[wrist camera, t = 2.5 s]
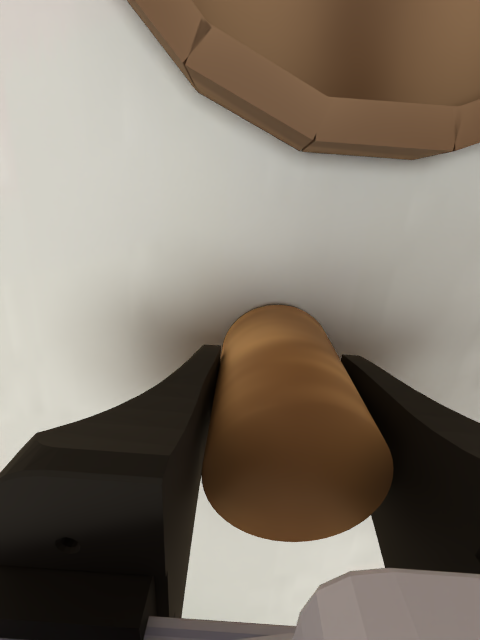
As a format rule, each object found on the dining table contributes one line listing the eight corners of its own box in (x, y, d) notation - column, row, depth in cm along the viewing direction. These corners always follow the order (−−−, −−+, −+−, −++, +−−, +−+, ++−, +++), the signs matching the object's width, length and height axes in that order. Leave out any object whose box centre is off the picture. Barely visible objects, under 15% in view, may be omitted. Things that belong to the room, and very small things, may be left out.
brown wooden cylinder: (338, 309, 12) (417, 410, 6) (319, 402, 14) (368, 547, 8) (224, 300, 12) (203, 394, 6) (219, 395, 14) (199, 535, 8)
